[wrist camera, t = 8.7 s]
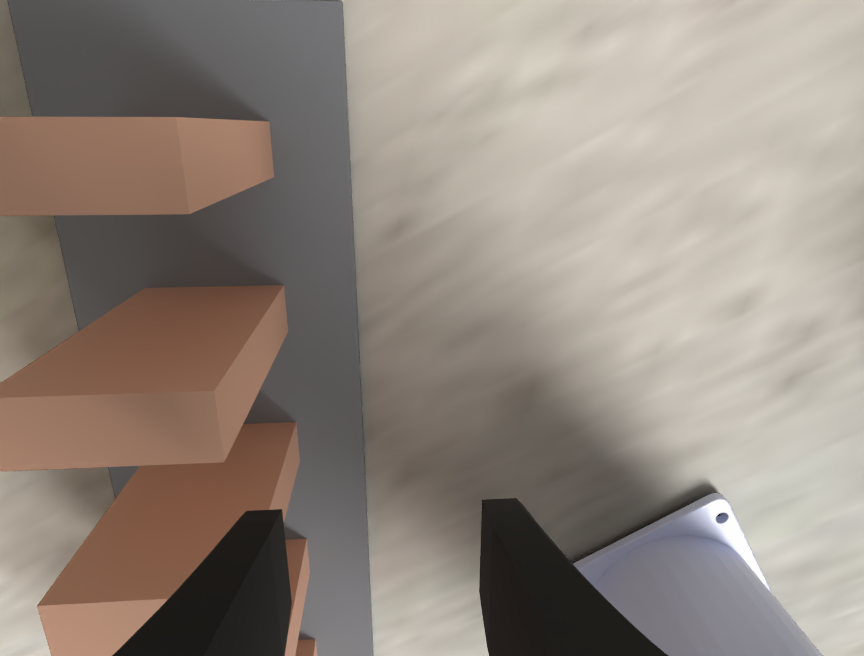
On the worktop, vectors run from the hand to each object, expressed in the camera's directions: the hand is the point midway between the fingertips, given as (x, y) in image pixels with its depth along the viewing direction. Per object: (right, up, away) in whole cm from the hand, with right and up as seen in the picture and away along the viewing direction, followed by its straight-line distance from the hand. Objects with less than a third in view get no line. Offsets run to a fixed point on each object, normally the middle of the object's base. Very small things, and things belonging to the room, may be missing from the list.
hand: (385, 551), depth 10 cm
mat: (-6, 0, +11) cm, 12 cm away
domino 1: (-6, +9, +7) cm, 13 cm away
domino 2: (-6, +5, +9) cm, 12 cm away
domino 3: (-6, 0, +10) cm, 12 cm away
